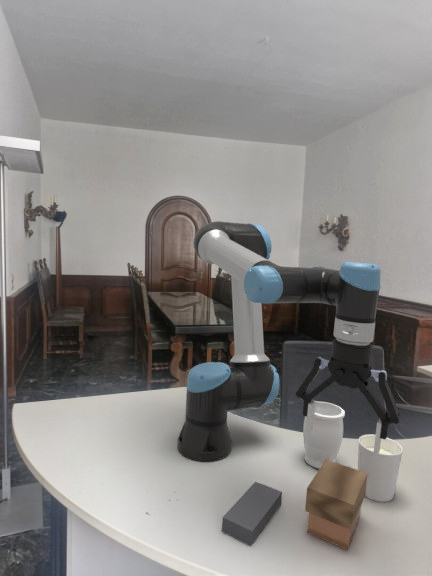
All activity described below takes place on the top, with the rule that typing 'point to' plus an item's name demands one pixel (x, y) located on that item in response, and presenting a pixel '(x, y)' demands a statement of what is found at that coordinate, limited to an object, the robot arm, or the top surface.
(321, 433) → the jar
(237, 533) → the block
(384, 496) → the candle holder
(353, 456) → the top surface
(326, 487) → the brown wooden block
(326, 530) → the dish
